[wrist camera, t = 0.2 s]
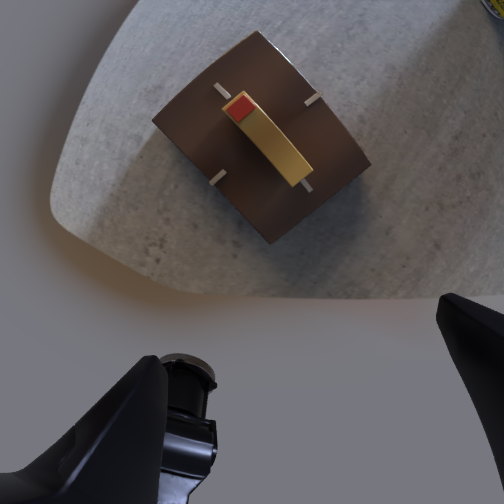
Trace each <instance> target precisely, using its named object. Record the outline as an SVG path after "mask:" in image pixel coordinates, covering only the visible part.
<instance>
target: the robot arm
mask: <svg viewBox="0 0 504 504" xmlns="http://www.w3.org/2000/svg"><path fill="white" fill-rule="evenodd" d="M436 321H437V324H438V326H439V329H440V331H441V333H442V336H443V338H444V340H445V343H446V345H447V348H448V350H449V353H450V355H451V357H452V360H453V362H454V364H455V366H456V368H457V370H458V372H459V374H460V376H461V378H462V380H463V382H464V384H465V386H466V388H467V390H468V393H469V394H470V397H471V399H472V402H473V404H474V406H475V408H476V410H477V413H478V415H479V418H480V420H481V423H482V425H483V428H484V430H485V433H486V436H487V438H488V441H489V444H490V446H491V449H492V452H493V455H494V459H495V462H496V465H497V469H498V472H499V475H500V479H501V482H502V486H503V490H504V314H501V313H499V312H497V311H494V310H492V309H490V308H487V307H485V306H483V305H480V304H478V303H475V302H473V301H471V300H468V299H466V298H464V297H461V296H459V295H456V294H454V293H447V294H444V295H442V296H441V297H440V298H439V303H438V309H437V313H436ZM216 388H217V383H215V382H214V381H212V380H211V379H209V378H208V377H206V376H205V375H203V374H202V373H200V372H199V371H197V370H196V369H195V368H193V367H192V366H190V365H189V364H187V363H186V362H185V361H183V360H181V359H178V360H176V361H174V362H173V363H171V364H170V365H168V366H165V367H163V365H162V363H161V362H160V360H159V358H158V357H157V356H155V355H150V356H144V357H142V358H141V359H140V360H139V361H138V362H137V363H136V364H135V365H134V366H133V367H132V368H131V369H130V370H129V371H128V372H127V373H126V374H125V375H124V376H123V377H122V378H121V379H120V380H119V381H118V382H117V383H116V384H115V385H114V386H113V387H112V388H111V389H110V390H109V391H108V392H107V393H106V394H105V395H104V396H103V397H102V398H101V399H100V400H99V401H98V402H97V403H96V404H95V405H94V406H93V407H92V408H91V409H90V410H89V411H88V412H87V413H86V414H85V415H84V416H83V417H82V418H81V419H80V420H79V421H78V422H77V423H76V424H75V426H72V428H70V429H69V430H68V431H67V433H65V434H64V435H63V436H62V437H61V438H60V439H59V440H58V441H57V442H56V443H55V444H53V445H52V446H51V447H50V448H49V449H48V450H46V451H45V452H44V453H43V454H41V455H40V456H39V457H38V458H36V459H35V460H34V461H33V462H32V463H30V464H29V465H28V466H26V467H25V468H24V469H22V470H19V471H17V472H12V473H0V504H188V500H189V495H190V494H191V493H192V492H193V491H194V490H195V489H196V488H197V487H198V486H199V484H200V483H201V482H202V481H203V480H204V479H205V478H206V477H207V476H208V474H209V473H210V468H211V466H212V465H213V463H214V461H215V458H216V454H217V446H218V445H217V431H216V421H215V420H208V419H205V417H206V408H207V399H208V392H210V391H212V390H214V389H216Z"/></svg>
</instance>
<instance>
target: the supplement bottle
mask: <svg viewBox="0 0 504 504" xmlns="http://www.w3.org/2000/svg"><path fill="white" fill-rule="evenodd" d="M481 1H482V2H483V4H484V5H485V7H486V8H487V9H488V10H489V11H490V12H491V13H492V14H493V15H494V16H495V17H497V18H499V19H504V0H481Z"/></svg>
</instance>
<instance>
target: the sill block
mask: <svg viewBox="0 0 504 504" xmlns="http://www.w3.org/2000/svg"><path fill="white" fill-rule="evenodd" d="M243 91H245V92H246V93H247V95H248V96H249V97H250V98H251V99H252V100H253V101H254V102H255V103H256V104H257V105H258V106H259V107H260V108H261V109H262V110H263V112H264V113H265V114H266V115H267V116H268V117H269V118H270V119H271V120H272V121H273V123H274V124H275V125H276V126H277V127H278V128H279V129H280V131H281V132H282V133H283V134H284V135H285V136H286V137H287V139H288V140H289V141H290V142H291V143H292V144H293V146H294V147H295V148H296V149H297V150H298V152H299V153H300V154H301V155H302V157H303V158H304V159H305V160H306V161H307V163H308V164H309V165H310V166H311V168H312V169H313V171H312V172H311V173H310V174H308V175H307V176H306V177H305V178H303V179H302V180H301V181H300V182H299V183H297V184H296V185H295V186H294V187H291V185H290V184H289V183H288V182H287V181H286V179H285V178H284V177H283V176H282V175H281V174H280V172H279V171H278V170H277V169H276V168H275V167H274V166H273V164H272V163H271V162H270V161H269V160H268V159H267V158H266V156H265V155H264V154H263V153H262V152H261V151H260V150H259V149H258V148H257V146H256V145H255V144H254V143H253V142H252V141H251V140H250V139H249V138H248V137H247V135H246V134H245V133H244V132H243V131H242V130H241V129H240V128H239V127H238V126H237V125H236V124H235V123H234V122H233V121H232V119H231V118H230V117H229V116H228V115H227V114H226V113H225V112H224V111H223V110H222V108H223V107H225V106H226V105H227V104H228V103H229V102H230V101H232V100H233V99H234V98H235V97H236V96H238V95H239V94H240V93H241V92H243ZM321 96H322V94H321V93H320V91H319V92H317V91H316V90H315V89H314V88H313V87H312V85H311V84H310V83H309V82H308V81H307V80H306V79H305V77H304V76H303V75H302V74H301V73H300V72H299V71H298V70H297V69H296V68H295V67H294V65H293V64H292V63H291V62H290V61H289V60H288V59H287V58H286V57H285V56H284V55H283V54H282V53H281V52H280V51H279V50H278V49H277V48H276V47H275V46H274V45H273V44H272V43H271V42H270V41H269V40H268V39H267V38H266V37H265V36H264V35H263V34H262V33H260V32H259V31H258V30H256V31H254V32H253V33H252V34H250V35H249V36H247V37H246V38H245V39H243V40H242V41H240V42H239V43H238V44H236V45H235V46H234V47H232V48H231V49H230V50H229V51H227V52H226V53H225V54H223V55H222V56H221V57H220V58H218V59H217V60H216V61H215V62H213V63H212V64H211V65H210V66H209V67H207V68H206V69H205V70H204V71H203V72H202V73H200V74H199V75H198V76H197V77H196V78H195V79H194V80H192V81H191V82H190V83H189V84H188V85H187V86H186V87H185V88H184V89H183V90H181V91H180V92H179V93H178V94H177V95H176V96H175V97H174V98H173V99H172V100H171V101H170V102H169V103H168V104H167V105H166V106H165V107H164V108H163V109H162V110H161V111H160V112H159V113H158V114H157V115H156V116H155V117H154V118H153V119H152V122H153V123H154V124H155V125H156V126H157V127H158V128H159V129H160V130H161V131H162V132H163V133H164V134H165V135H166V136H167V137H168V138H169V139H170V140H171V141H172V142H173V143H174V144H175V145H176V146H177V147H178V148H179V149H180V150H181V151H182V152H183V153H184V154H185V156H186V157H187V158H188V159H189V160H190V161H191V162H192V163H193V164H194V165H195V166H196V167H197V168H198V169H199V170H200V171H201V172H202V173H203V174H204V175H205V176H206V177H207V178H208V179H209V180H210V182H209V184H210V185H211V186H213V185H214V186H215V187H216V188H217V189H218V190H219V191H220V192H221V193H222V194H223V195H224V196H225V197H226V198H227V199H228V200H229V201H230V203H231V204H232V205H233V206H234V207H235V208H236V209H237V210H238V211H239V212H240V213H241V214H242V215H243V216H244V217H245V218H246V219H247V221H248V222H249V223H250V224H251V225H252V226H253V227H254V228H255V229H256V230H257V231H258V232H259V233H260V234H261V236H262V237H263V238H264V239H265V240H266V241H267V242H268V243H269V244H270V245H271V244H272V243H274V242H275V241H276V240H278V239H279V238H280V237H281V236H283V235H284V234H285V233H286V232H288V231H289V230H290V229H291V228H293V227H294V226H295V225H296V224H298V223H299V222H300V221H302V220H303V219H304V218H305V217H307V216H308V215H309V214H310V213H312V212H313V211H314V210H315V209H317V208H318V207H319V206H320V205H322V204H323V203H324V202H325V201H327V200H328V199H329V198H330V197H332V196H333V195H334V194H335V193H337V192H338V191H339V190H340V189H342V188H343V187H344V186H346V185H347V184H348V183H349V182H351V181H352V180H353V179H354V178H356V177H357V176H358V175H359V174H361V173H362V172H363V171H364V170H366V169H367V168H368V167H369V166H371V163H370V162H369V160H368V159H367V157H366V156H365V154H364V153H363V151H362V150H361V148H360V147H359V146H358V144H357V143H356V141H355V140H354V138H353V137H352V136H351V134H350V133H349V132H348V130H347V129H346V128H345V126H344V125H343V124H342V122H341V121H340V120H339V118H338V117H337V116H336V115H335V113H334V112H333V111H332V109H331V108H330V107H329V106H328V104H327V103H326V102H325V101H324V100H323V98H322V97H321Z"/></svg>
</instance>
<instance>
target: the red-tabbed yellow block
mask: <svg viewBox="0 0 504 504" xmlns="http://www.w3.org/2000/svg"><path fill="white" fill-rule="evenodd" d="M222 110H223V111H224V112H225V113H226V114H227V115H228V116H229V117H230V118H231V119H232V121H233V122H234V123H235V124H236V125H237V126H238V127H239V128H240V129H241V130H242V131H243V132H244V133H245V134H246V135H247V137H248V138H249V139H250V140H251V141H252V142H253V143H254V144H255V145H256V146H257V148H258V149H259V150H260V151H261V152H262V153H263V154H264V155H265V156H266V158H267V159H268V160H269V161H270V162H271V163H272V164H273V166H274V167H275V168H276V169H277V170H278V171H279V172H280V174H281V175H282V176H283V177H284V178H285V179H286V181H287V182H288V183H289V184H290V185H291V187H294V186H295V185H296V184H297V183H299V182H300V181H301V180H302V179H303V178H305V177H306V176H307V175H308V174H310V173H311V172H312V171H313V169H312V168H311V166H310V165H309V164H308V163H307V161H306V160H305V159H304V158H303V157H302V155H301V154H300V153H299V152H298V150H297V149H296V148H295V147H294V146H293V144H292V143H291V142H290V141H289V140H288V139H287V137H286V136H285V135H284V134H283V133H282V132H281V131H280V129H279V128H278V127H277V126H276V125H275V124H274V123H273V121H272V120H271V119H270V118H269V117H268V116H267V115H266V114H265V113H264V112H263V110H262V109H261V108H260V107H259V106H258V105H257V104H256V103H255V102H254V101H253V100H252V99H251V98H250V97H249V96H248V95H247V93H246V92H245V91H243V92H241V93H240V94H239V95H238V96H236V97H235V98H234V99H233V100H232V101H230V102H229V103H228V104H227V105H226V106H225V107H223V108H222Z"/></svg>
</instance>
